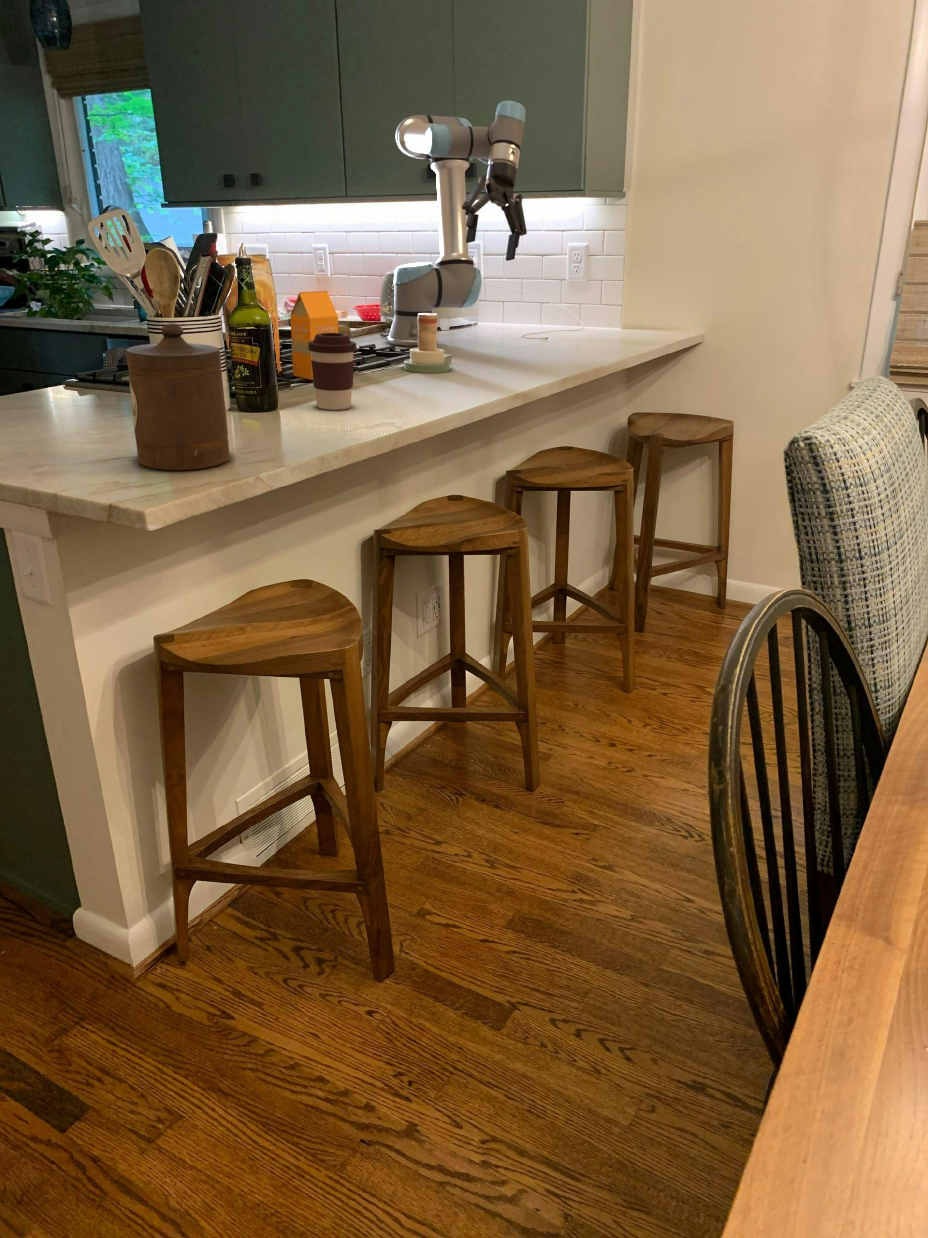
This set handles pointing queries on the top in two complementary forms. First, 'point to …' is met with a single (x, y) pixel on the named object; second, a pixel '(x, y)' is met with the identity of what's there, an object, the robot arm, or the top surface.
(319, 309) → the orange juice
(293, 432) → the top surface
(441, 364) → the disc stack
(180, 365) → the wooden container
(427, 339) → the cylinder
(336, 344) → the coffee cup
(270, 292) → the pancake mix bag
